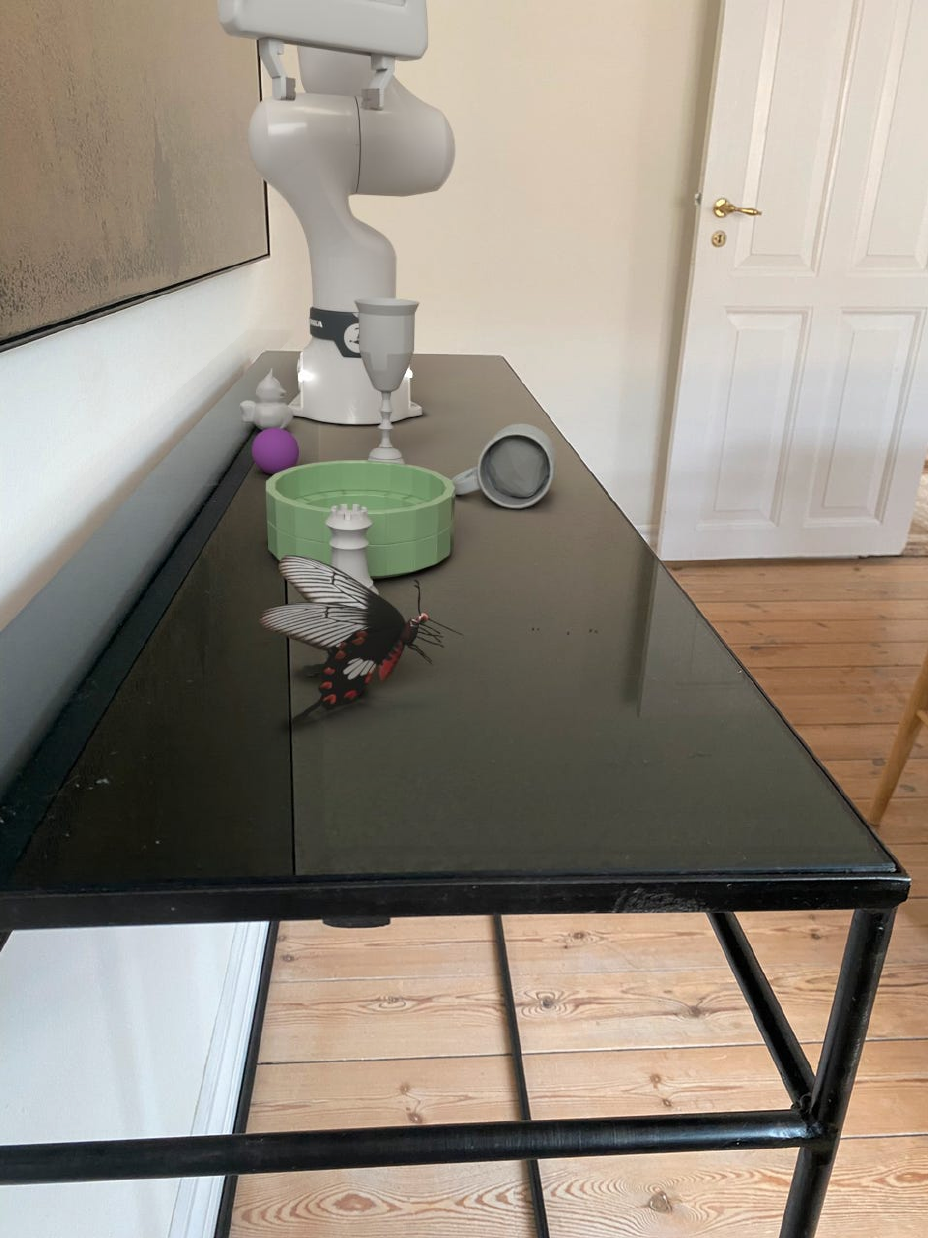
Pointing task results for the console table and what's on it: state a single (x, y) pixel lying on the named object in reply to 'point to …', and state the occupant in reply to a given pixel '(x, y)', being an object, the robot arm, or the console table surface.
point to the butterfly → (342, 629)
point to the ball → (275, 450)
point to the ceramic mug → (512, 467)
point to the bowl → (396, 504)
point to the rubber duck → (268, 406)
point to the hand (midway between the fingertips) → (329, 105)
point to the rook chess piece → (350, 542)
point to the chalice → (386, 356)
